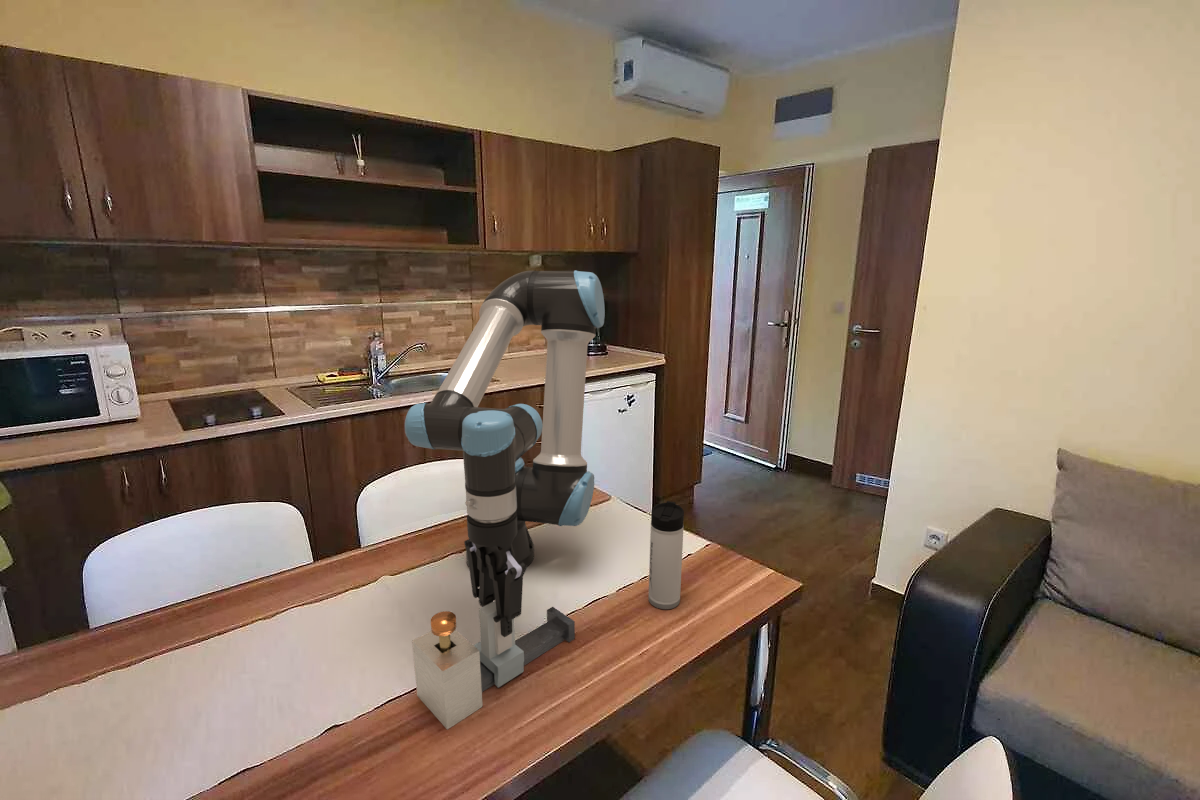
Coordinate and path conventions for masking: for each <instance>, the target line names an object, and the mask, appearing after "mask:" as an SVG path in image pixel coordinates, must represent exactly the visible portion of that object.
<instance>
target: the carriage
mask: <svg viewBox="0 0 1200 800" xmlns="http://www.w3.org/2000/svg"><path fill="white" fill-rule="evenodd" d="M495 616H497V611H496V602H495V600H494V601H493V602H491V603H490V604H488V605H486V606H484V607H482V606H481V607H480V608H478V619H479V620H478V621H479V635H480V637H479V638H480V640H479V641H478V642H476V643H475V644H473V645H474V646H475V647H476V648H477V649H478V650H479V654H480V661H481V662H482V663H483V664H484V665H485V666H486V667H487V668H488V669H490V670H491V671H492V672H493V673H494V679H495V684H494V685H495V686H496V687H497V688H500V687H503V686H504V685H505V684H506V683H508V682H509V681H511V680H513V679H515V678H516V677H518V676H519V675H521V674H522V673H523V672H524V669H525V668H524V667H525V665H523V662H524V651H523V650H522V649H520V648H519V647H518V646H517V645H515V640H516V630H515V618H514V619H512V647H511V648H509V649H507V650H505V651H504V652H502V653H500V654H499V655H498V654H497V653H496V652H495V631H494V619H493V617H495Z"/></svg>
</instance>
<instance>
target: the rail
mask: <svg viewBox="0 0 1200 800" xmlns="http://www.w3.org/2000/svg"><path fill="white" fill-rule="evenodd" d="M575 624H576V623H575V620H573V619H571V618H570V617H569V616H567V615H566V614H564V613H563V612H562V611H560V610H559V609H557V608H556V607H554V606H551V607H550V608H548V609H546V622H544V623H542V624H541V625H540V626H538V627H536V628H535V629H532V630H531V631H529V632H527V633H526V634H524V635H522V636H521V637H519V638H517V639H515V645H517V646H518V647H519V648H520V649H522V650H523V651H524V662H523V665H524V666H526V665H527V664H529V663H531V662H532V661H534V660H535V659H537V658H538V657H541V656H542V655H544V654H545V653H547V652H549V651H550V650H552V649H553V648H555V647H556V646H557V645H559V644H561V643H563V642H564V641H566V642H568V643H570V642H572V641H574V640H575V638H576V636H575V634H576V633H575V632H576V631H575V629H576V627H575V626H576V625H575ZM450 640H451V649H449V650H448V651H446V652H444V653H441V652H440V644H439V636H436V635H434V634H433V633H432V632H431V630H430V631H429V632H426V633H424V634H422V635H420V636H418V637H416V638H414V639H413V640H412V641H411V643H412V644H411V645H412V655H413V663H414V675H415V677H414V678H415V686H416V687H415V688H416V696H417V698H418V699H419V700H420V701H421V702H422V703H423V704H424V705H425V707H427V708H428V710H430V712H431V713H432V714H433V716H434V717H435V718H436V719H437V720H438V721H439V722H440V723H441V724H442V726H443V727H444V728H445V729H446V730H447V731H448V730H449V729H450V728H452V727H454V726H455V725H457V724H458V723H460V722H462V721H463V720H464V719H466V718H467V717H469V716H471V715H472V714H474V713H475V712H477V711H479V709H482V708H483V692H485V691H486V690H488V689H489V688H492V687H493V686H494V685H495V679H494V673H493V672H492V671H491V670H490V669H488V668H487V667H486V666H485V665H484V664H483V663H482V662H481V661H480V654H479V650H478V649H477V648H476V647H475V646H474V645H475V644H472V643H471V642H470V641H469V640H468V639H467V638H465V636H464V635H462V634H461V633H460V632H459V631H458V630H456V629H455V631H454V632H453V633H451V634H450Z"/></svg>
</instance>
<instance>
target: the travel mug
mask: <svg viewBox="0 0 1200 800" xmlns="http://www.w3.org/2000/svg"><path fill="white" fill-rule="evenodd" d="M676 503H677V502H675V501H669V500H667V501H666V502H662V503H658V504H656V505H655V506H653V507H652V508H651V511H650V512H651V515H650V517H651V518H650V537H649V538H650V539H649V543H650V544H649V570H648V572H649V573H648V598H647V599H648V602H649V603H650V604H651V606H654V607H655V608H657V609H660V610H671V609H675V608H676V607H678V606H679V604H680V602H681V589H682V587H681V586H682V585H681V584H682V564H683V547H684V546H683V544H684V543H683V542H684V527H685V526H684V519H685V518H684V517H685V511H684V509H683V507H682V506H680V505H679V504H676Z"/></svg>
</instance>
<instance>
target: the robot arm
mask: <svg viewBox="0 0 1200 800" xmlns="http://www.w3.org/2000/svg"><path fill="white" fill-rule="evenodd" d="M603 292H604V291H603V287H602V284H601V281H600V279H599V277H598V276H597V274H595V273H594V272H593V271H592V272H590V271H579V270H577V269H576V270H525V271H521V272H519V273H515V274H514V275H512V276H510V277H508V278H507V279H505V280H503V281H502V282H501V283H499V284H498V285H497V286H496V287H495V288H493V289H492V290H491V292H490V293H489V294H488V295H487V296H486V298H485V299H484V301H483V302H482V304H481V305H480V308H479V312H478V316H479V319H478V321H477V323H476V324H475V326H474V328H473V330H472V332H471V333H470V335H469V336H468V339H466V341H465V343H464V345H463V347H462V348H461V351H460V352H459V354H458V356H457V357H456V359H455V361H454V362H453V364H452V366H451V368H450V369H449V371H448V373H447V375H446V376H445V378H444V380H443V382H442V383H441V385H440V387H439V389H438V390H437V392H436V394H435V395H434V396H433V399H432V400H431V402H429V403H428V402H423V403H416V404H414V405H413V406H411V407H410V408H409V409H408V410H407V413H406V416H405V420H404V434H405V437H406V438H407V440H408V442H409V443H410V444H411V445H413V446H414V447H418V448H419V447H420V448H423V449H424V448H425V449H430V450H450V451H459V452H461V451H462V458H463V468H464V469H463V470H464V488H465V503H464V504H465V507H466V514H467V516H466V523H467V524H466V526H467V538H468V539H466V540H464V541H463V543H464V547H465V550H466V552H465V557H466V558H465V559H466V561H465V562H466V565H467V567H468V568H469V575H470V576H469V577H470V583H471V592H472V596H473V598H474V599H477V598H478V604H479V605H480V606H481V608H482V607H484V606H486V605H488V604H490V603H491V602H493V601H495V602H496V611H497V616H495V617H493V619H494V631H495V652H496V653H497V654H498V655H499V654H500V653H502V652H504V651H505V650H507V649H509V648H511V647H512V619H514V620H515V618H518V617H520V616H521V615H522V607H523V606H522V605H523V601H522V600H523V585H524V584H523V581H524V575H525V572H526V571H527V567H528V566H530V564H532V562H533V561H534V559H535V545H534V542H533V540H532V537H531V535H530V532H529V530H528V527H527V525H526V523H527V522H528V523H537V524H538V523H539V524H547V525H557V526H559V527H563V526H567V527H578V526H580V525H581V524H583V522H584V520H585V519H586V517H587V516H588V513H589V510H590V507H591V504H592V501H593V500H592V499H593V496H594V491H595V475H594V473H593V472H591V471H589V470H588V462H587V460H585V459H584V457H583V456H582V454H581V453H582V438H583V423H584V410H585V409H584V405H585V393H586V392H585V390H586V374H587V373H586V372H587V359H588V345H589V343H590V342H591V341H592V340H593V339H594V338H596V329H600V328H602V327H603V326H604V324H605V319H606V317H605V316H606V315H605V313H606V312H605V311H606V310H605V300H604V299H605V298H604V293H603ZM531 325H532V326H541V330H540V334H541V335H542V336H543V337H544V338H545V339H546V341H547V343H546V344H547V348H546V362H545V363H546V364H545V377H544V379H545V380H544V381H545V382H544V393H543V396H544V397H543V414H542V417H541V416H540V415H541V414H539V412H538V410H537V409H536V408H534V407H532V406H530V405H528V404H526V403H525V404H524V403H516V404H513V405H510V406H508V407H506V408H494V407H492V408H491V407H481V406H479V405H480V403H481V401H482V400H483V397H484V396H485V393H486V391H487V389H488V387H489V385H490V383H491V381H492V379H493V377H494V375H495V374H496V371H497V369H498V367H499V365H500V363H501V361H502V359H503V358H504V355H505V353H506V351H507V349H508V348H509V345H510V342H512V339H513V337H514V336H518V334H519V333H521V332H522V330H523V328H524V327H526V326H531ZM540 437H541V444H540V453H539V454H538V455H537V456H536V457H534V458H533V460H532V467H531V466H525V465H526V464H525V461H524V459H523V458H522V456H523V455H525V454H526V453H527V452H528V451H529V450H531V449H532V448H533V447H534V446H535V444H536V443H537V441H538V439H540Z"/></svg>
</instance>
